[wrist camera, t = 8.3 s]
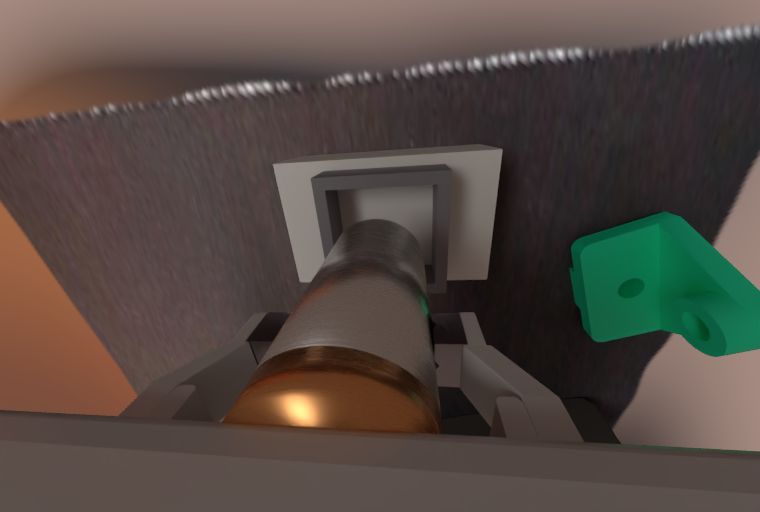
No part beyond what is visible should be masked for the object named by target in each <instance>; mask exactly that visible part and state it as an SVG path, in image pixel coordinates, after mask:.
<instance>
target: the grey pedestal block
mask: <svg viewBox="0 0 760 512" xmlns="http://www.w3.org/2000/svg"><path fill="white" fill-rule="evenodd" d="M502 150H503V149H500V148H495V147H491V146H487V145H482V144H473V145H458V146H443V147H429V148H414V149H399V150H384V151H369V152H355V153H340V154H325V155H310V156H300V157H297V158H293V159H289V160H286V161H282V162H279V163H275V164H273V167H274V171H275V176H276V180H277V184H278V189H279V193H280V197H281V202H282V206H283V210H284V215H285V219H286V223H287V228H288V232H289V236H290V241H291V245H292V249H293V254H294V258H295V262H296V267H297V271H298V275H299V280H300V282H311V281H312V279H313V278H314V276H315V275H316V273H317V272H318V270H319V268H320V267H321V265H322V264H323V262H324V261H325V259H326V257H327V256H328V254H329V253H330V251H331V250H332V248H333V246H334V245H335V243H336V242H337V240H338V238H339V237H340V236H341V234H342V233H343V232H344V231H345V230H346V229H347V228H349V227H350V226H352V225H353V224H355V223H358V222H360V221H363V220H368V219H384V220H389V221H393V222H395V223H397V224H400V225H401V226H403V227H405V228H406V229H407V230H409V231H410V232H411V233H412V234H413V235H414V237H415V238H416V239H417V241H418V242H419V244H420V246H421V249H422V252H423V257H424V266H425V275H426V284H427V293H446V289H447V280H487V275H488V267H489V259H490V250H491V242H492V234H493V225H494V217H495V209H496V200H497V192H498V184H499V175H500V167H501V159H502Z"/></svg>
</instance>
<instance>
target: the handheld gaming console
mask: <svg viewBox="0 0 760 512" xmlns="http://www.w3.org/2000/svg"><path fill="white" fill-rule="evenodd" d="M561 401H562V403H563V405H564V407H565V409H566V410H567V412H568V414H569V416H570V418H571V419H572V421H573V423H574V425H575V427H576V428H577V430H578V432H579V434H580V435H581V437H582V439H583V441H584V442H593V443H611V444H621V443H620V441H619V440H618V439H617V437H616V436H615V434H614V432H613V431H612V429H611V428H610V426H609V425H608V423H607V421H606V420H605V418H604V417H603V415H602V413H601V412H600V411H599V409H598V408H597V406H596V405H595V404H593V403H591V402H589V401H588V400H586V399H584V398H571V399H562V400H561ZM441 420H442V429H443V434H449V435H467V436H485V437H490V432H491V427H490V426H489V424H488V423H487V422H486V421H485V419H484V418H483V417H482V416H481V414H480V413H477V414H471V415H464V416H458V417H452V418H446V419H441Z"/></svg>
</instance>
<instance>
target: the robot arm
mask: <svg viewBox="0 0 760 512" xmlns="http://www.w3.org/2000/svg"><path fill="white" fill-rule="evenodd" d="M290 314H291V313H282V312H257V313H254V314H253V316H252V317H251V318H250V319H249V320H248V321H247V323H246V324H245V325H244V326H243V327H242V329H241V330H240V331H239V332H238V333H237V334H236V336H235V337H234V338H233V339H232V340H231V341H226V342H225V343H223V344H221V345H219V346H217V347H216V348H214V349H212V350H210V351H208V352H206V353H205V354H203V355H201V356H199V357H197V358H195V359H194V360H192V361H190V362H188V363H186V364H185V365H183V366H181V367H179V368H177V369H175V370H174V371H172V372H170V373H168V374H166V375H164V376H163V377H161V378H159V379H157V380H155V381H154V382H152V383H151V384H150V385H149V386H148V387H147V388H146V389H145V390H144V391H143V392H142V393H141V394H140V395H139V396H138V397H137V398H136V399H135V400H134V401H133V402H132V403H131V404H130V405H129V406H128V407H127V408H126V409H125V410H124V411H123V412H122V413H121V414H120V415H119V416H100V415H84V414H65V413H47V412H29V411H28V412H27V411H10V410H0V512H760V452H758V451H757V452H756V451H739V450H720V449H702V448H683V447H666V446H647V445H629V444H628V445H627V444H611V443H593V442H584V441H583V439H582V437H581V435H580V434H579V432H578V430H577V428H576V427H575V425H574V423H573V421H572V419H571V418H570V416H569V414H568V412H567V410H566V409H565V407H564V405H563V403H562V401H561V400H560V398H559V397H558V396H557V395H555V394H554V393H553V392H551V391H550V390H549V389H548V388H546V387H545V386H544V385H542V384H541V383H540V382H538V381H537V380H536V379H534V378H533V377H532V376H531V375H529V374H528V373H527V372H525V371H524V370H523V369H521V368H520V367H519V366H517V365H516V364H515V363H513V362H512V361H511V360H510V359H508V358H507V357H506V356H504V355H503V354H502V353H500V352H499V351H498V350H496V349H495V348H494V347H493V346H491V345H486V342H485V340H484V337H483V334H482V331H481V329H480V326H479V323H478V320H477V318H476V315H475V313H474V312H462V313H430V321H431V331H432V338H433V349H434V357H435V366H436V375H437V384H438V386H445V387H460V389H461V390H462V392H463V393H464V394H465V395H466V397H467V398H468V399H469V400H470V402H471V403H472V404H473V405H474V407H475V408H476V409H477V411H478V412H479V413H480V414H481V416H482V417H483V418H484V419H485V421H486V422H487V423H488V424H489V426H490V427H491V432H490V437H485V436H467V435H449V434H430V433H418V434H412V433H394V432H375V431H357V430H339V429H322V428H304V427H286V426H267V425H249V424H231V423H222V421H223V420H224V418H225V417H226V415H227V413H228V412H229V410H230V409H231V407H232V406H233V404H234V402H235V401H236V399H237V398H238V396H239V394H240V393H241V391H242V390H243V388H244V387H245V385H246V383H247V382H248V380H249V379H250V377H251V376H252V374H253V372H254V371H255V369H256V368H257V366H258V365H259V363H260V361H261V360H262V358H263V357H264V355H265V354H266V352H267V350H268V349H269V347H270V346H271V344H272V342H273V341H274V339H275V338H276V336H277V335H278V333H279V331H280V330H281V328H282V327H283V325H284V324H285V322H286V320H287V319H288V317H289V316H290Z"/></svg>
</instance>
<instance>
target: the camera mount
mask: <svg viewBox="0 0 760 512" xmlns="http://www.w3.org/2000/svg"><path fill="white" fill-rule="evenodd" d="M571 254H572V261H573V267H571V268H569V269H570V275H571V281H572V287H573V293H574V299H575V304H576V305H577V306H578V307H579V308H580V311H581V317H582V324H583V328H584V330H585V331H586V332H587V333H588V334H589V335H590V337H591V338H592V339H593V340H594V341H596V342H606V341H610V340H615V339H619V338H624V337H629V336H633V335H638V334H642V333H647V332H651V331H656V330H664V331H668V332H672V333H676V334H680V335H682V336H683V337H684V338H685V339H686V340H687V341H688V342H689V343H690V344H691V345H692V346H693V347H695V348H696V349H698V350H699V351H701V352H702V353H705V354H707V355H710V356H714V357H718V356H724V355H729V354H735V353H740V352H745V351H750V350H756V349H760V291H759V290H758V289H757V288H756V287H755V286H754V285H753V284H752V283H751V282H750V281H749V280H748V279H746V278H745V277H744V276H743V275H742V274H741V273H740V272H739V271H738V270H737V269H736V268H735V267H734V266H733V265H732V264H731V263H729V262H728V261H727V260H726V259H725V258H724V257H723V256H722V255H721V254H720V253H719V252H718V251H717V250H716V249H715V248H714V247H713V246H711V245H710V244H709V243H708V242H707V241H706V240H705V239H704V238H703V237H702V236H701V235H700V234H699V233H698V232H697V231H696V230H694V229H693V228H692V227H691V226H690V225H689V224H688V223H687V222H686V221H685V220H684V219H683V218H682V217H680V216H677V215H674V214H671V213H668V212H661V213H658V214H655V215H652V216H649V217H645V218H642V219H639V220H636V221H632V222H629V223H626V224H623V225H620V226H616V227H613V228H610V229H607V230H604V231H600V232H597V233H594V234H591V235H587V236H584V237H581V238H579V239H577V240H576V241H575V242H574V243H573V244H572V246H571Z"/></svg>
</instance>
